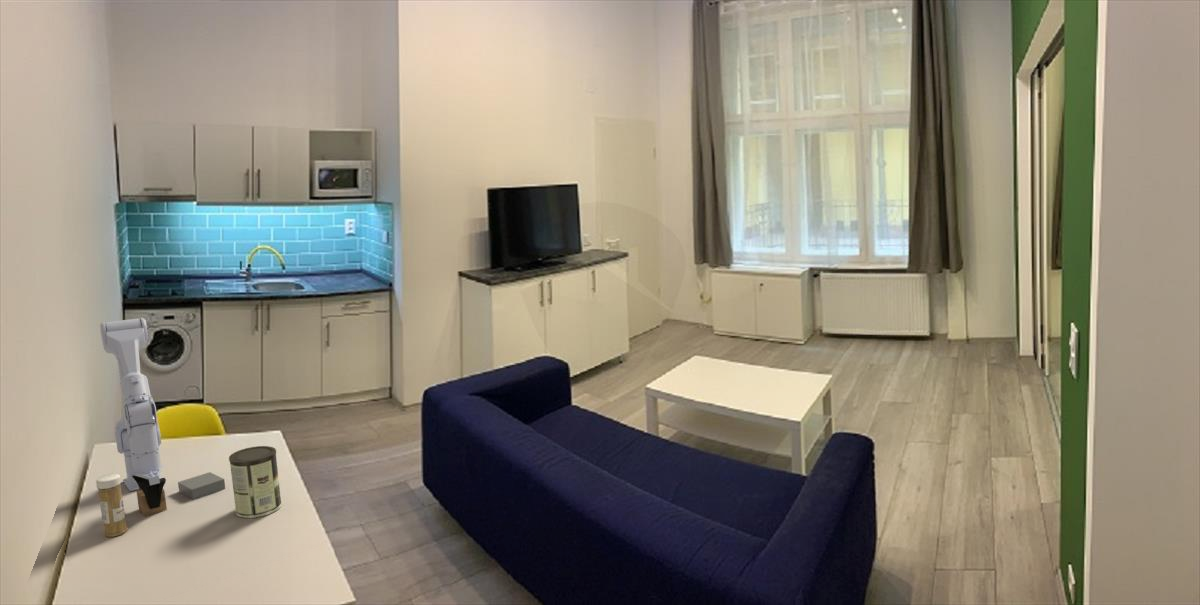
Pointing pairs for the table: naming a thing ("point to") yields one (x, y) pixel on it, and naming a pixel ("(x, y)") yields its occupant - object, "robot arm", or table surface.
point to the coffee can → (255, 481)
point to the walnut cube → (144, 506)
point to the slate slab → (201, 485)
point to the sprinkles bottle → (111, 504)
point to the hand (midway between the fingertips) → (152, 504)
